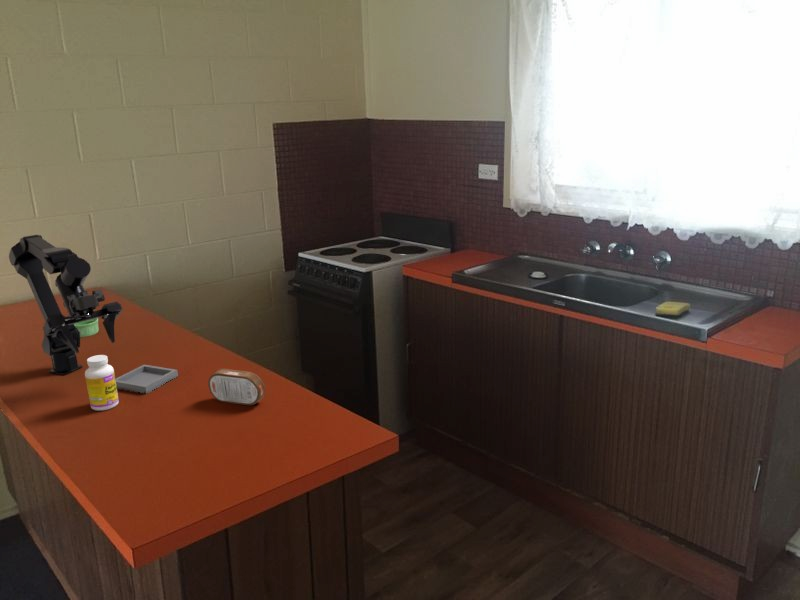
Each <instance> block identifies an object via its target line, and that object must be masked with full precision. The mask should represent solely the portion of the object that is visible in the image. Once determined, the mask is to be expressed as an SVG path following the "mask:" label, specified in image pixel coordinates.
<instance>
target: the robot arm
mask: <svg viewBox="0 0 800 600" xmlns="http://www.w3.org/2000/svg"><path fill="white" fill-rule="evenodd" d="M8 259H9V262H10V264H11V266H13V267H14V269H15V271H16V273H17V274H18V275H20V276H21V277H23V278H24V279H26V280H27V283H28V285H29V287H30V290H31V292H32V294H33V297H34V298H35V301H36V303H37V305H38V308H39V310H40V312H41V315H42V318H43V319H44V325H42V329H43V340H42V343H41V347H42V350H43V353H45V354H46V355H48V356H50V360H51V362H52V363H51V364H52V368H51V369H49V370H48V373H49V374H50V373H51V374H56V375H60V376H61V375H62V376H65V375H66V376H67V375H68V374H70V373H72V372H74V371H77V370H79V369H81V368H83V365H82V364H79V363H78V357H77V354H79V353H80V350H79V349H80V348H81V337H80V332H79V331H78V329H77V328H76V327H75V326H74V324H76V323H80V322H84V321H88V320H91V319H95V318H98V319H99V318H101V319H102V320H103V321H102V325H103V327H104V329H105V331H106V333H107V336H108V339H109V341H110V342H111V344H115V342H116V339H115V337H116V336H115V321H116V319H117V318H118V317H119V316H120V315H121V313H122V312H123V311H124V309H123V307H122V304H121V303H119V302H118V301H113V302H109V303H105V304H104V305H102V307H101V309H98V310H96V308H97V307H100V302H104V301H105V300H106V298H105V294H104V292H103V290H102V288H99V289H95V290H92V292H91V293H92V294H89V292H88V290H85V287H84V285H83V284H84V283H85V281H86V280H87V278H88V276H89V275H90V272H91V265H90V263H89V262H88V261H87V260H85V259H83V258H81V257H79V256H78V254H77V253H75V252H73V251H72V250H71V249H70V248H69V247H68V248H67V247H57V246H54V245H53V244H51V243H50V242H48V241H47V240H45V239H44V238H43V236H42V235H40V234H31V235H26V236H25V235H24V236H23V237H21V238H20V239H19V242H17V243H16V244H15V245H13V246H12V247H11V248H10V251H9V254H8ZM44 271H45V272H47V273H48V274H49V275H55V274H58V273H59V275H57V276H56V279H55V281H54V282H55V283H54V285H55V287H56V288H57V289H58V292H59V295H60V297H61V299H62V302H63V303H62V305H63V307H64V308H65V309H66V310H67V311H66V312H67V314H68V316H65V315H64V314H63V313H62V312H61V311H62V310H61V309H60V306H59V304H58V302H57V300H56V297H55V294H54V293H53V291H52V289H51V286H50V283H49V282H48V279H47V277H46V275H45V272H44Z"/></svg>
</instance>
